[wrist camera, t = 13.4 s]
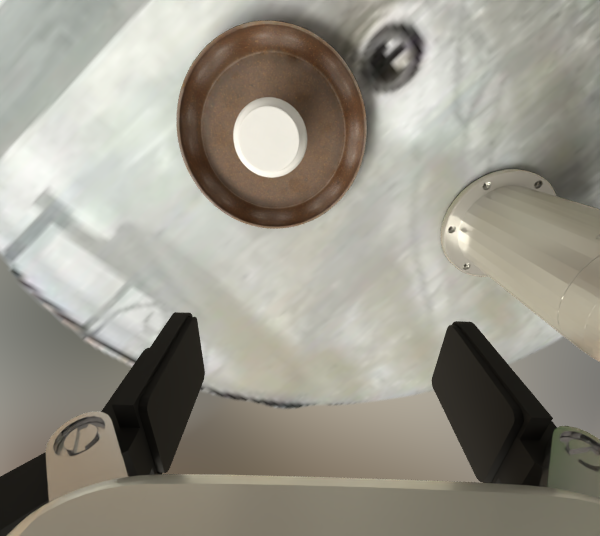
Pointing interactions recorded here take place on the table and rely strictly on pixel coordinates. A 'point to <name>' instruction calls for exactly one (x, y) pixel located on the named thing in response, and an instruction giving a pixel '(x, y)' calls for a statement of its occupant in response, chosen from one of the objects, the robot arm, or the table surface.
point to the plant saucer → (283, 85)
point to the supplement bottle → (270, 137)
